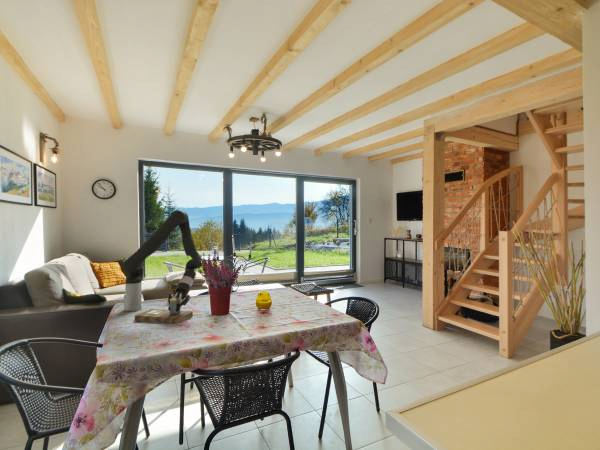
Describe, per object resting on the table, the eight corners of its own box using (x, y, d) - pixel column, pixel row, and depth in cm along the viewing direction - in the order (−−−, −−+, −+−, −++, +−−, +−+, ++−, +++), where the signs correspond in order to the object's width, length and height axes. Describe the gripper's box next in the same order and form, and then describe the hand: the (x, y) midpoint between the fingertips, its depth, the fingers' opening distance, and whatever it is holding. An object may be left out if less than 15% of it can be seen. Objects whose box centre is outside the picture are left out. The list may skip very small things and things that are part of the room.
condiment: (183, 301, 225) (183, 284, 225) (171, 303, 219) (171, 286, 219) (178, 299, 230) (178, 283, 230) (166, 301, 225) (166, 284, 224)
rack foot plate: (134, 320, 181) (134, 314, 181) (150, 313, 195) (150, 308, 195) (179, 323, 176) (179, 317, 176) (192, 316, 189) (192, 310, 189)
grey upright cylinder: (169, 320, 182) (169, 299, 182) (174, 317, 186) (174, 297, 186) (176, 320, 182) (176, 299, 181) (180, 318, 185) (180, 297, 185)
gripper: (171, 281, 192) (159, 306, 181) (193, 282, 190) (181, 307, 178) (176, 288, 198) (164, 313, 186) (197, 289, 195) (186, 314, 183)
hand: (173, 310), depth 182 cm, fingers closed on grey upright cylinder, 4 cm apart
